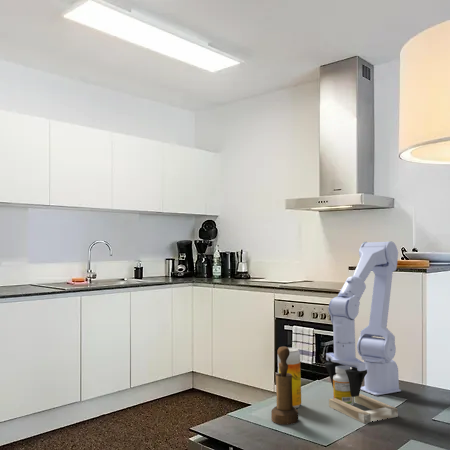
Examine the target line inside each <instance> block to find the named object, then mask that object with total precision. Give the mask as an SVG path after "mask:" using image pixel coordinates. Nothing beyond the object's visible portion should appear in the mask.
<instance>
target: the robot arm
mask: <svg viewBox="0 0 450 450" xmlns="http://www.w3.org/2000/svg"><path fill="white" fill-rule="evenodd" d="M358 255H359V256H358V257H359V261H358V263H357V265H356V268H355V269H354V272H353V275H352V276H348V277H347V278H346V280H345V281H344V284H343V286H342V287H341V288H340V291H339V292H338V294H337V296H334V297H333V298H331V299H330V301H329V304H328V307H327V311H328V314H329V316H330V322H331V324H332V330H333V335H332V336H333V352H326V353H325V360H326V362H324V364H323V365H324V368H326V371H327V373H328V375H329V379H330V381H331V385H332V387H333V376H334V375H335V374H336V370H335V367H336V366H348V367H350V369H348V370H345V371H346V374H347V376H348V379H349V384H350V393H351V396H352V397H354V398H355V397H356V396H359V394H361V393H360V392H361V391H364V392H366V393H368V394H370V395H371V394H372V395H374V396H380V395H387V394H393V393H397V392H399V393H400V392H402V389H400V384H399V381H400V380H399V366H398V365H397V364H398V363H397V362H396V361H395V360H394V358H395V355H396V352H397V351H396V336H395V334H393V333H392V332H391V331H390V329H388V328H387V326H388V319H389V309H390V299H391V292H392V281H393V275H394V274H393V273H394V272H396V271H397V267H398V260H399V259H398V258H399V251H398V247H397V245H396V243H395V242H394V241H390V240H389V241H370V242H367V241H364V242H363V243H361V245H360V247H359V250H358ZM372 272H373V274H374V279H373V287H372V296H371V305H370V313H369V321H368V325H367V326H366V327H364V328H363V329H361V331H360V333H359V334H360V335H359V337H358V340H357V343H356V329H355V328H356V327H355V326H356V323H355V319H356V318H357V317H358V315H359V312H360V311H359V310H360V305H361V303H360V301H361V298H362V296H363V294H364V292H365V290H366V289H367V285H366V283H365V282H366V280H367V279H368V277H369V276H370V273H372ZM356 350H357V351H356ZM356 352H357V353H358V355H359V356H360V358H361V360H362V361H361V360H360V359H358V358H357V356H356V355H357V354H356ZM363 381H364V386H363V385H362V384H363Z"/></svg>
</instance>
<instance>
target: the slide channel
mask: <svg viewBox="0 0 450 450" xmlns="http://www.w3.org/2000/svg"><path fill="white" fill-rule="evenodd" d="M355 402H356V404H358V405H360V406H363V407H364V408H368V409H369V410H363V409H361V408H359V407H356V406H354V405H350V404H347V403H345V402H343V401H341V400H338V399H336V398H334V397H333V398H329V399H328V407H329V408H331V409H333V410H335V411H337V412H340V413H342V414H344V415H345V416H348V417H350V418H351V419H354V420H356V421H359V422H360V423H363V424H368V423H373V422H378V421H383V420H388V419H392V418H396V417H397V418H398V408H397V407H395V406H393V405H389V404H387V403H385V402H382V401H380V400H377V399H375V398H372V397H370V396H367V395H364V394H362V393H359V396H356V397H354V403H355ZM387 418H388V419H387ZM382 419H383V420H382ZM377 420H378V421H377ZM372 421H373V422H372Z"/></svg>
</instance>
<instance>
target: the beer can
mask: <svg viewBox="0 0 450 450" xmlns="http://www.w3.org/2000/svg"><path fill="white" fill-rule="evenodd" d="M287 348H288V349H289V352H290V354H289V356H288V358H287V361H286V363H287V364H288V370H287V373H290V374H292V404H293V407H295V409H297V408H299V407H300V406H301V404H302V377H301V376H302V375H301V374H302V373H301V372H302V371H301V368H302V367H301V353H300V350H299V348H296V347H287ZM280 363H281V360H280V358H279V356H278V355H277V374H278V373H281V372H280V368H279V364H280Z"/></svg>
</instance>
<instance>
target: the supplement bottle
mask: <svg viewBox="0 0 450 450" xmlns="http://www.w3.org/2000/svg"><path fill="white" fill-rule="evenodd" d="M348 369H351V367H348V366H345V365H344V366H336V367H335V370H336V374H335V375H334V376H333V386H332V391H333V398H336V399H338V400H341V401H343V402H345V403H347V404H350V405H352V406H354V404H355V397H352V396H351V393H350V384H349V379H348V376H347V374H346V371H345V370H348Z"/></svg>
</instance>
